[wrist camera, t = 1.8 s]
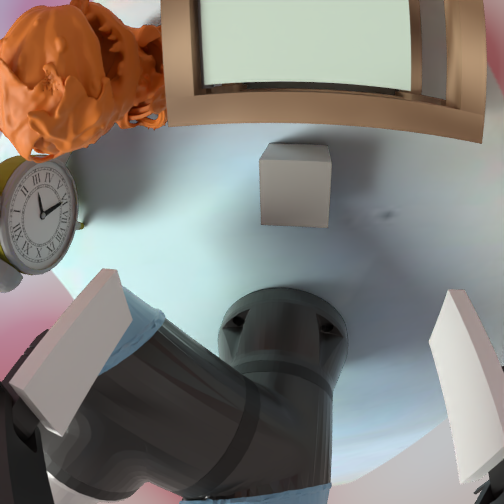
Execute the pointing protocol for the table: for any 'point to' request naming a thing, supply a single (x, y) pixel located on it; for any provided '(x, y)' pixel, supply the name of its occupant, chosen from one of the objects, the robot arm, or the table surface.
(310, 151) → the grey block
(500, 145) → the table surface
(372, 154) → the table surface
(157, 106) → the orange sculpture
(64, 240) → the alarm clock
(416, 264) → the table surface
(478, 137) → the frame
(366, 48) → the hatch
